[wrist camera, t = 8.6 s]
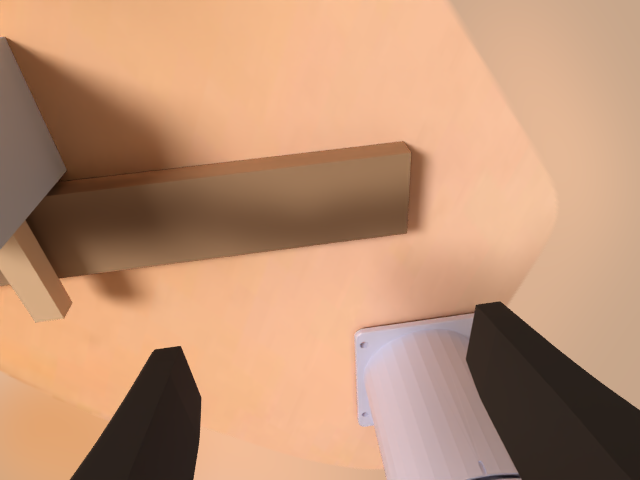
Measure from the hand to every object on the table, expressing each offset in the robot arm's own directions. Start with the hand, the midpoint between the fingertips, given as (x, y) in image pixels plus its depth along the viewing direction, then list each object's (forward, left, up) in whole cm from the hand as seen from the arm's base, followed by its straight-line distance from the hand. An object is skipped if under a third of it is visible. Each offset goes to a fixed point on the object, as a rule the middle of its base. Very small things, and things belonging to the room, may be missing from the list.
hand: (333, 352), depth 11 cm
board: (-1, +7, -10) cm, 12 cm away
